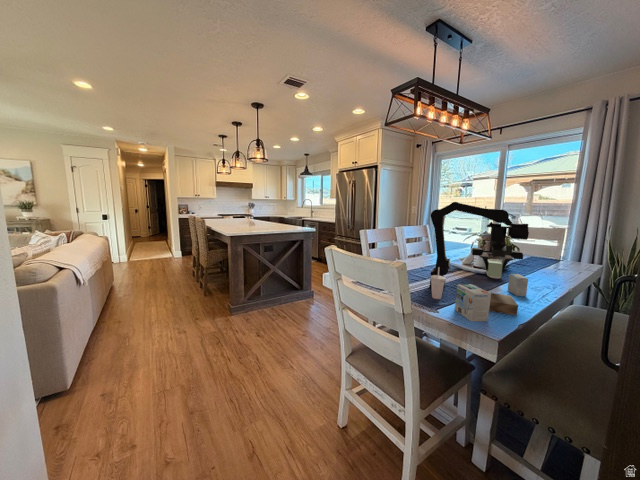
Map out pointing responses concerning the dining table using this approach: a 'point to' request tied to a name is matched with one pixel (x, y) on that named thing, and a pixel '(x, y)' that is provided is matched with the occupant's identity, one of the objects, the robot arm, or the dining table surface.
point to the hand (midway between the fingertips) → (493, 271)
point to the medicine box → (517, 284)
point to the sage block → (494, 268)
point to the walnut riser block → (503, 304)
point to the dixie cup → (495, 260)
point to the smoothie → (437, 285)
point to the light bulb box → (472, 302)
